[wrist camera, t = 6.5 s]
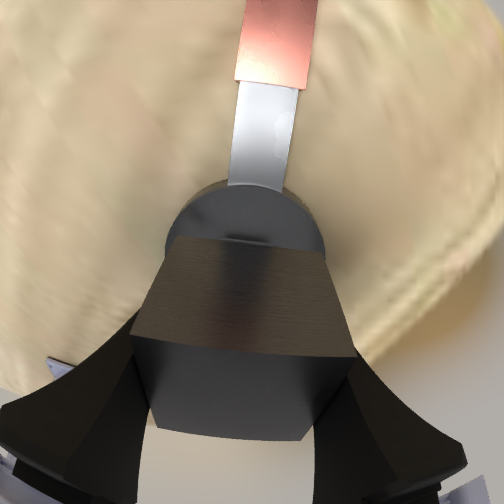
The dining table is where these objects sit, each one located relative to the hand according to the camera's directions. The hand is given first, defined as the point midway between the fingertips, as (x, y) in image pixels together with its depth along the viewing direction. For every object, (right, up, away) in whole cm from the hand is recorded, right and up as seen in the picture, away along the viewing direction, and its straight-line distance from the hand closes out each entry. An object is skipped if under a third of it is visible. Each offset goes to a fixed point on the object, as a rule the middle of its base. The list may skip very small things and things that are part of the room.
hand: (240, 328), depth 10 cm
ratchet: (+1, +8, +2) cm, 8 cm away
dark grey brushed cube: (0, +1, +2) cm, 2 cm away
